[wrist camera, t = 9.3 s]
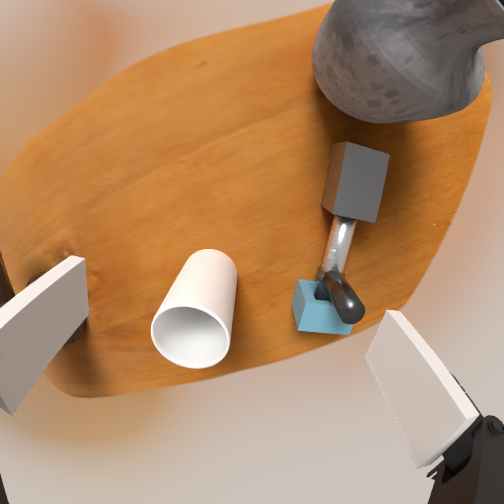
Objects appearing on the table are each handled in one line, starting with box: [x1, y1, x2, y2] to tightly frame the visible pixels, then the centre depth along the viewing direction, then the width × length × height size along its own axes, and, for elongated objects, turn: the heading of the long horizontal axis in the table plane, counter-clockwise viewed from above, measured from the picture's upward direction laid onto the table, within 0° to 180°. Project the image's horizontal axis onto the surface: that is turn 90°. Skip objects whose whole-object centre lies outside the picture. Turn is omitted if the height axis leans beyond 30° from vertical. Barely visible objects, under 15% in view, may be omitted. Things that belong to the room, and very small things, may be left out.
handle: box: [314, 214, 365, 325], centre depth 33 cm, size 17×4×12 cm, turn 171°
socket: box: [291, 279, 353, 335], centre depth 39 cm, size 4×8×7 cm, turn 81°
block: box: [321, 141, 390, 223], centre depth 34 cm, size 9×6×6 cm, turn 171°
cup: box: [151, 249, 238, 368], centre depth 34 cm, size 8×8×16 cm
